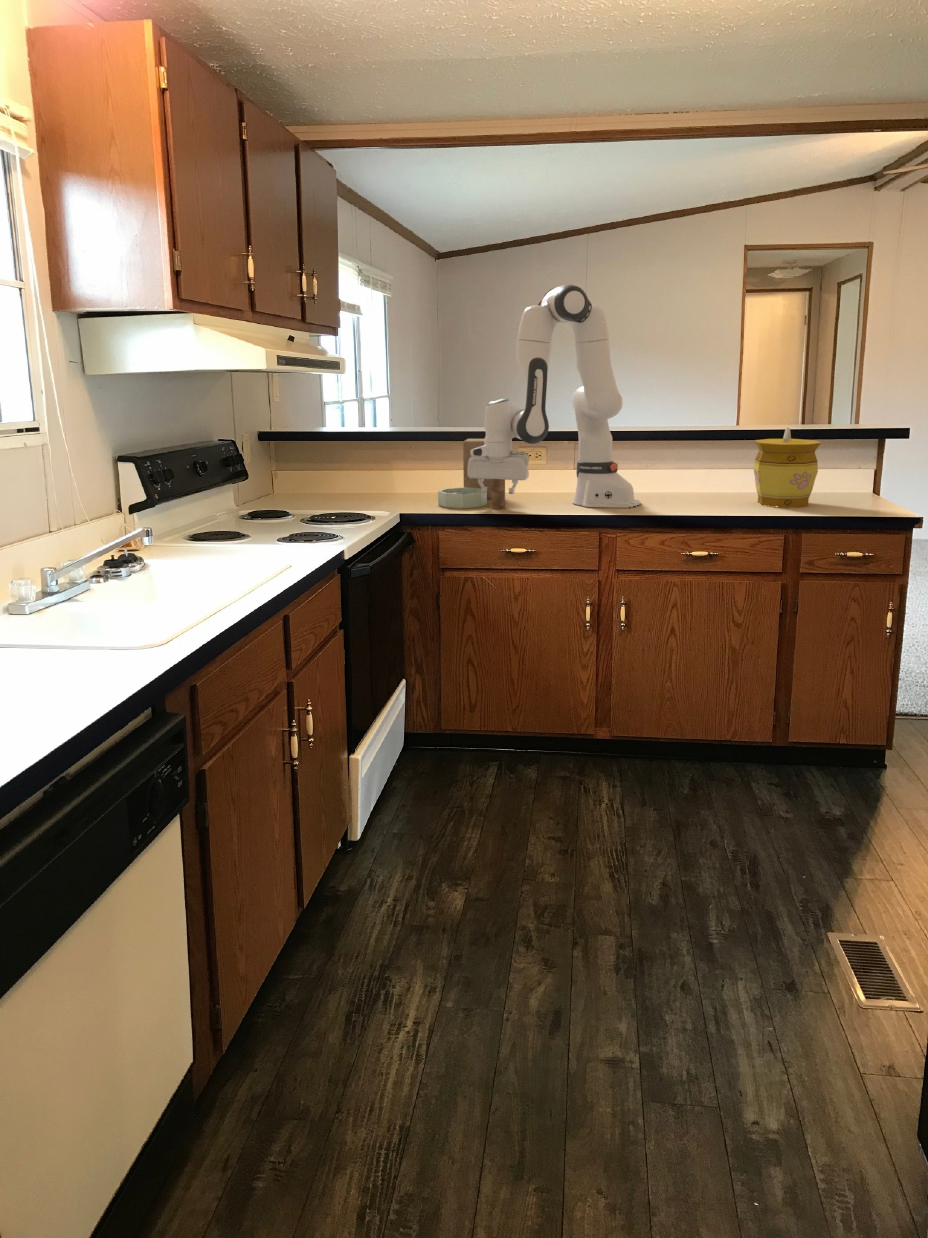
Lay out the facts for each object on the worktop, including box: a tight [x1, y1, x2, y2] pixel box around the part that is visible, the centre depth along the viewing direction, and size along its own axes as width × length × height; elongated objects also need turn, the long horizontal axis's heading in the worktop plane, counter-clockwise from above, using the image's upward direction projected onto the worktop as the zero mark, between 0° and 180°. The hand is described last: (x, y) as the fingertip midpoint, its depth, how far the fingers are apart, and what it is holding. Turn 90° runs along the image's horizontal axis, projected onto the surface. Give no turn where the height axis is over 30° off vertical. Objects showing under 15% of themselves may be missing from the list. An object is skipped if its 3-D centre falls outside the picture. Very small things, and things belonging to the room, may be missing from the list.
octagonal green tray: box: [437, 486, 488, 509], centre depth 334 cm, size 15×15×5 cm
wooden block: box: [462, 438, 492, 500], centre depth 348 cm, size 10×10×20 cm
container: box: [752, 427, 822, 509], centre depth 325 cm, size 21×21×25 cm
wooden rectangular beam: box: [491, 479, 506, 510], centre depth 324 cm, size 4×4×12 cm
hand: (497, 492), depth 325 cm, fingers open, 8 cm apart
